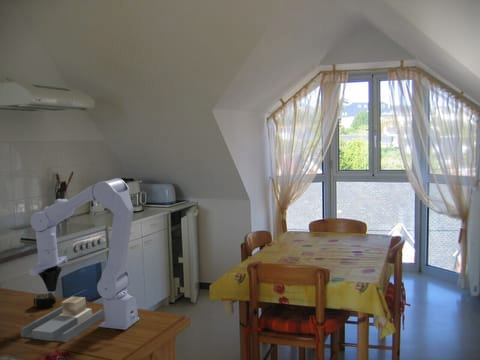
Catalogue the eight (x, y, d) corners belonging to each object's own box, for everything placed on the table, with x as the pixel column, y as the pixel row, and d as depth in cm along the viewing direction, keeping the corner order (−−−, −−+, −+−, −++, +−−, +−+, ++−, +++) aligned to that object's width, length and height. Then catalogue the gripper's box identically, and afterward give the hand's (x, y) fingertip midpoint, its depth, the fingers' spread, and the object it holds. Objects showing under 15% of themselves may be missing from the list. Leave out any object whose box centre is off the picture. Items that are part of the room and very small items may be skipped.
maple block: (86, 309, 150) (85, 297, 150) (76, 315, 146) (74, 303, 145) (73, 308, 152) (72, 296, 152) (62, 314, 147) (61, 302, 147)
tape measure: (56, 306, 162) (55, 296, 161) (35, 311, 159) (33, 300, 158) (54, 300, 168) (53, 290, 167) (33, 305, 165) (32, 294, 164)
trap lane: (104, 317, 150) (103, 309, 150) (65, 342, 133) (64, 334, 133) (62, 313, 155) (62, 305, 155) (20, 337, 138) (19, 328, 138)
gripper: (53, 242, 156) (57, 282, 157) (19, 254, 142) (24, 298, 144) (71, 243, 153) (74, 284, 155) (38, 255, 140) (42, 299, 141)
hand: (51, 291), depth 149 cm, fingers closed
